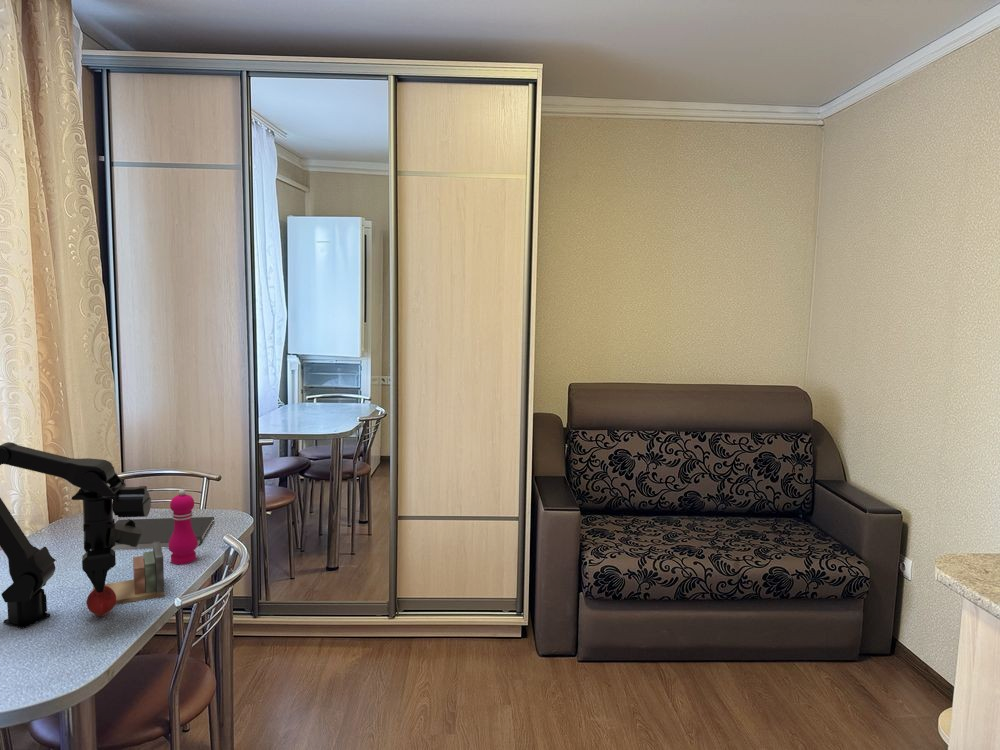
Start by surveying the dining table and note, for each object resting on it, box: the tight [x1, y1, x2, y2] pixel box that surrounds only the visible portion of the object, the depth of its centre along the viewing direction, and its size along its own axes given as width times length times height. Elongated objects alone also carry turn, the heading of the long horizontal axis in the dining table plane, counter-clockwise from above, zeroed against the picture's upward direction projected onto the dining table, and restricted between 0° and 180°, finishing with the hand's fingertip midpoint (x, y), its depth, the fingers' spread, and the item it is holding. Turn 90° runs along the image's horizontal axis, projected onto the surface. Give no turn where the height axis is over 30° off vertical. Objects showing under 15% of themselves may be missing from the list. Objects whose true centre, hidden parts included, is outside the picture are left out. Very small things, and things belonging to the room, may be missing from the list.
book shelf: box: [92, 542, 165, 606], centre depth 168 cm, size 15×11×10 cm
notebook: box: [111, 516, 215, 551], centre depth 207 cm, size 22×2×28 cm
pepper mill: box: [168, 488, 198, 565], centre depth 188 cm, size 7×7×20 cm
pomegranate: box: [86, 585, 116, 617], centre depth 156 cm, size 6×6×8 cm
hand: (100, 584), depth 156 cm, fingers open, 9 cm apart
